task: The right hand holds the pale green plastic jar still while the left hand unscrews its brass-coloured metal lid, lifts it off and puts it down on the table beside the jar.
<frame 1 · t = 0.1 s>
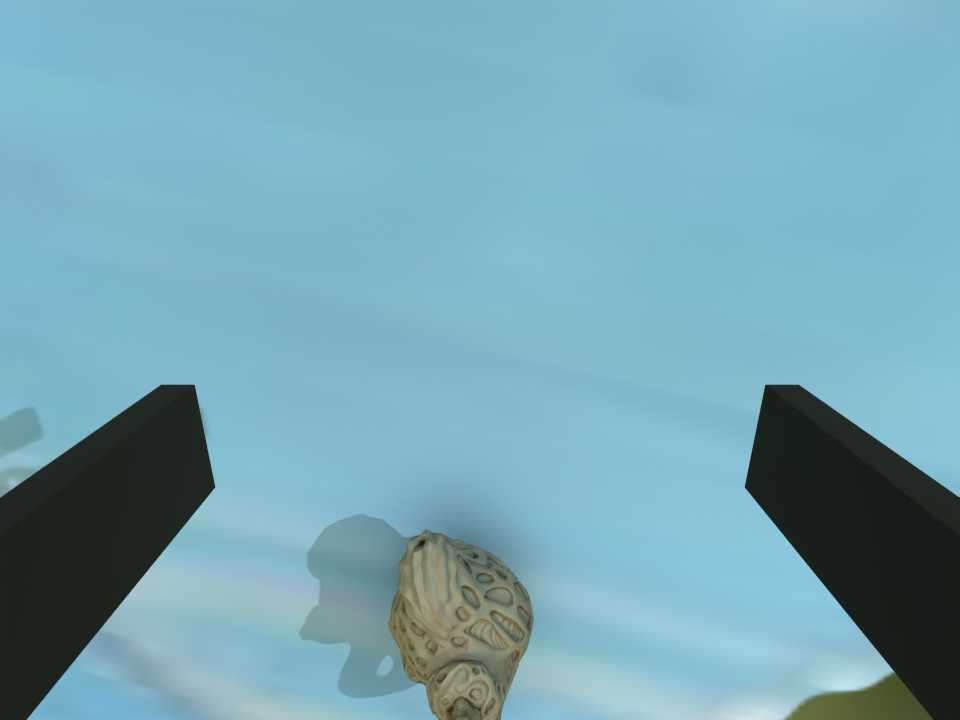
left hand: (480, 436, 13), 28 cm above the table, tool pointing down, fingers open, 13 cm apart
beige patterned figurine: (465, 577, 49), on the table
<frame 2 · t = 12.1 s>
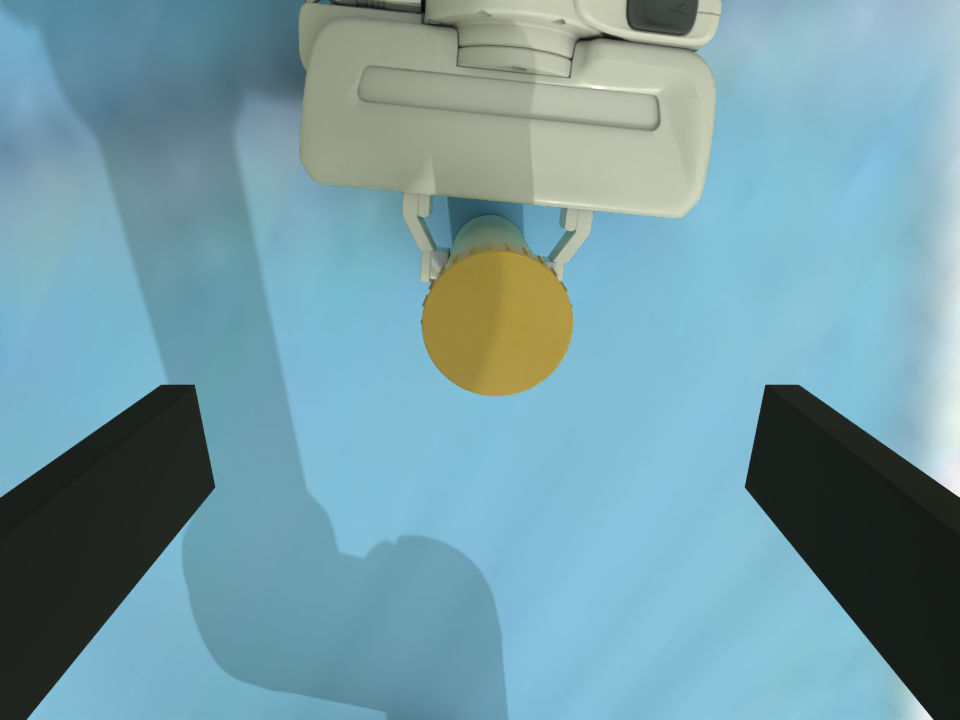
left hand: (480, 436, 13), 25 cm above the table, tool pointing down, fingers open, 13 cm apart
right hand: (490, 286, 30), fingers closed on jar, 5 cm apart
jar: (489, 251, 36), on the table, touching right hand
lid: (497, 324, 20), point 17 cm above the table, screwed on, not yet turned
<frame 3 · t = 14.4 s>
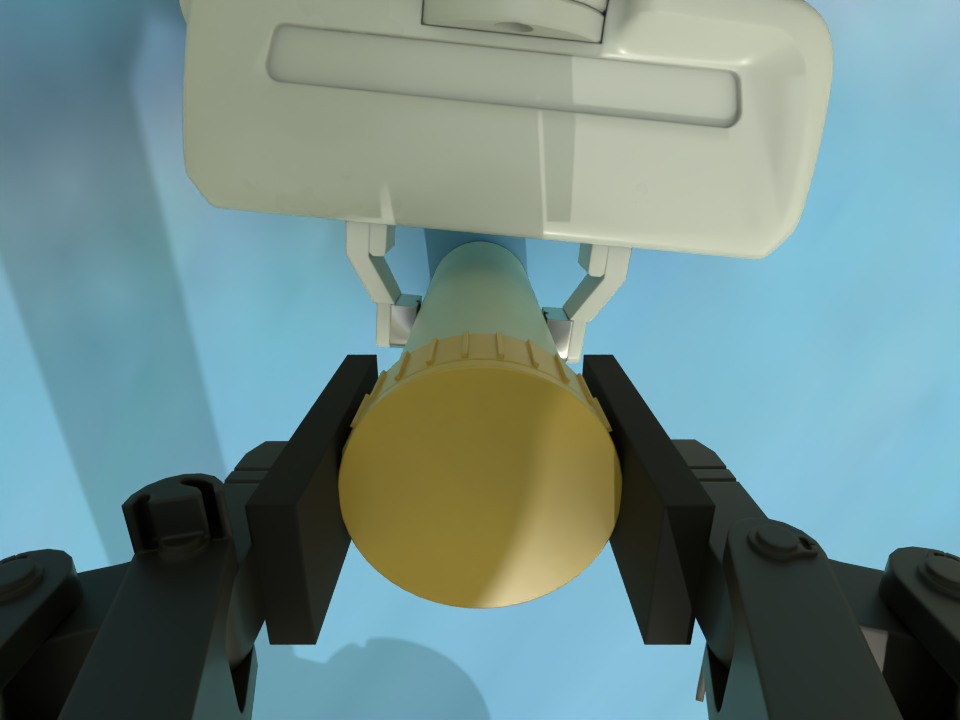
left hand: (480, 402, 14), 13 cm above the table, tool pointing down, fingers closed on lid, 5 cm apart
right hand: (479, 351, 21), fingers closed on jar, 5 cm apart
jar: (480, 290, 27), on the table, touching right hand
lid: (480, 488, 11), point 17 cm above the table, screwed on, not yet turned, touching left hand
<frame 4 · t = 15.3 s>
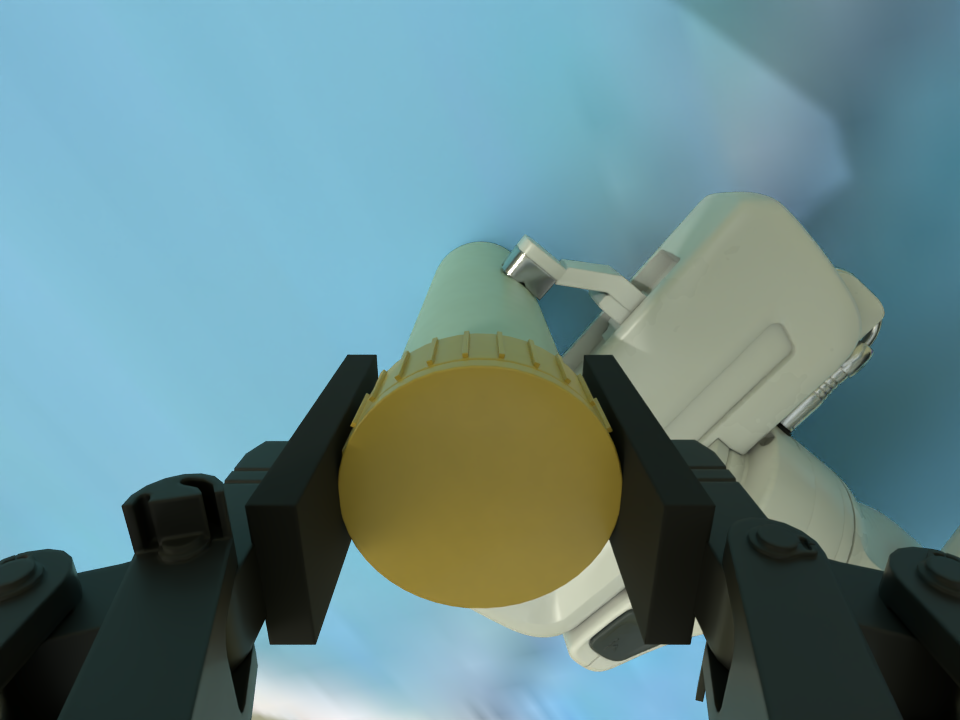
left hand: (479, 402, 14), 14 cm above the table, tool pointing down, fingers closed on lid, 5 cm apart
right hand: (461, 315, 21), fingers closed on jar, 5 cm apart
jar: (480, 289, 27), on the table, touching right hand
lid: (480, 488, 11), point 18 cm above the table, off its thread, touching left hand
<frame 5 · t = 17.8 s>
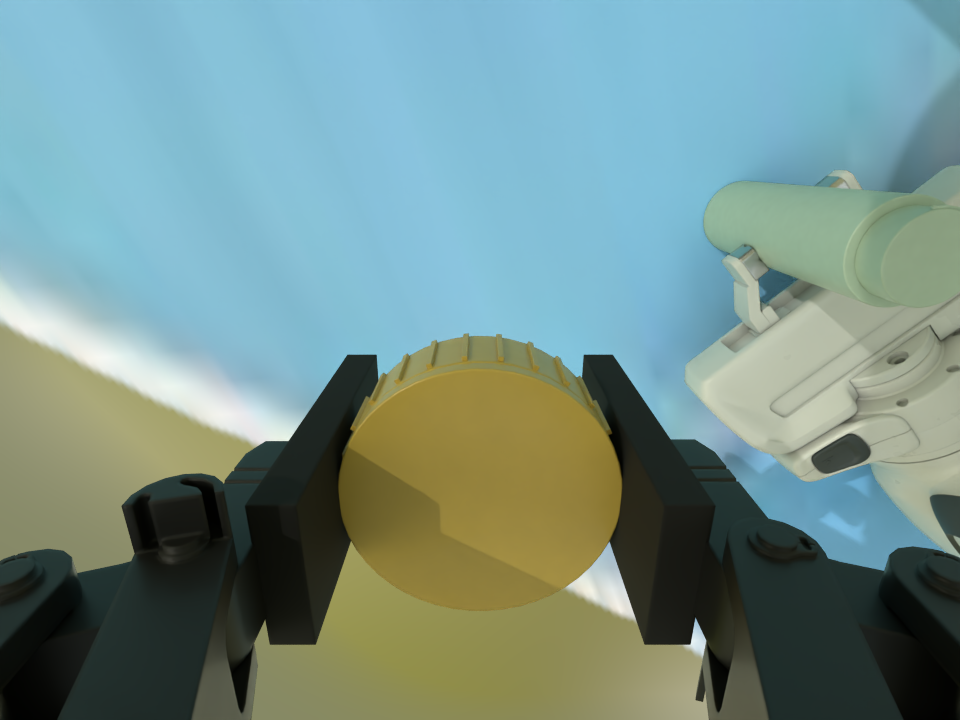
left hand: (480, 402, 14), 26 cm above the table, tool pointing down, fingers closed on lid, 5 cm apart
jar: (738, 217, 37), on the table, touching right hand
lid: (480, 491, 11), point 30 cm above the table, off its thread, touching left hand
when the left hand's fingers open (0 cm above the table, at t = 22.6 s): lid drops 3 cm, point 2 cm above the table.
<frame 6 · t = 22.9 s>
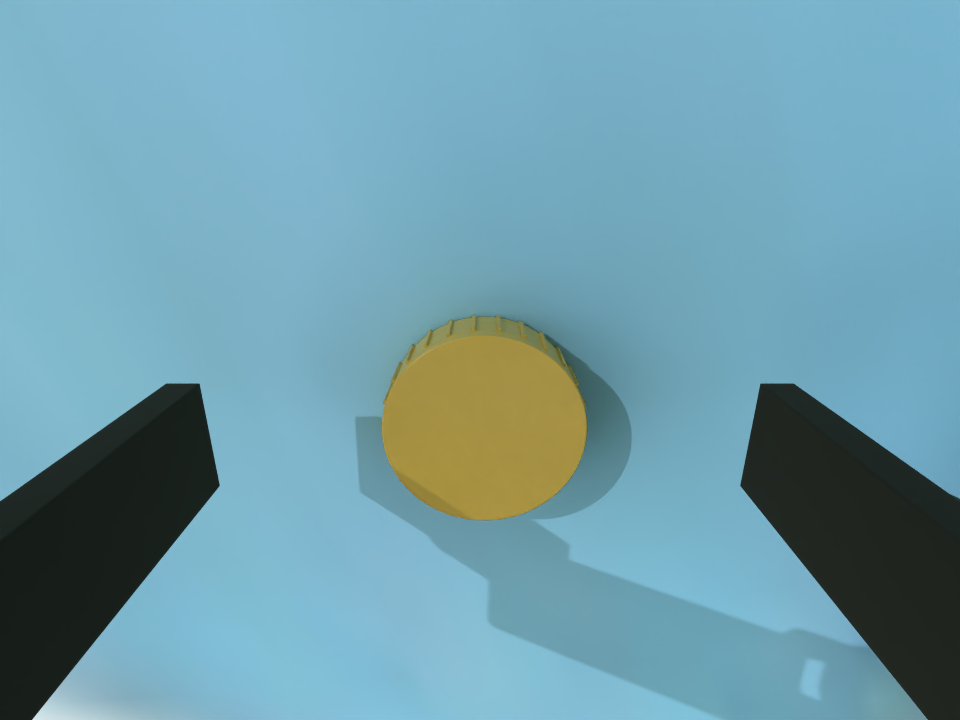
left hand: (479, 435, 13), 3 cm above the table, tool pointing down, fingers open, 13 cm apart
lid: (484, 428, 15), point 2 cm above the table, off its thread
when the right hand's fingers open (7 cm above the table, at t = 23.4 s): jar stays where it is, on the table.
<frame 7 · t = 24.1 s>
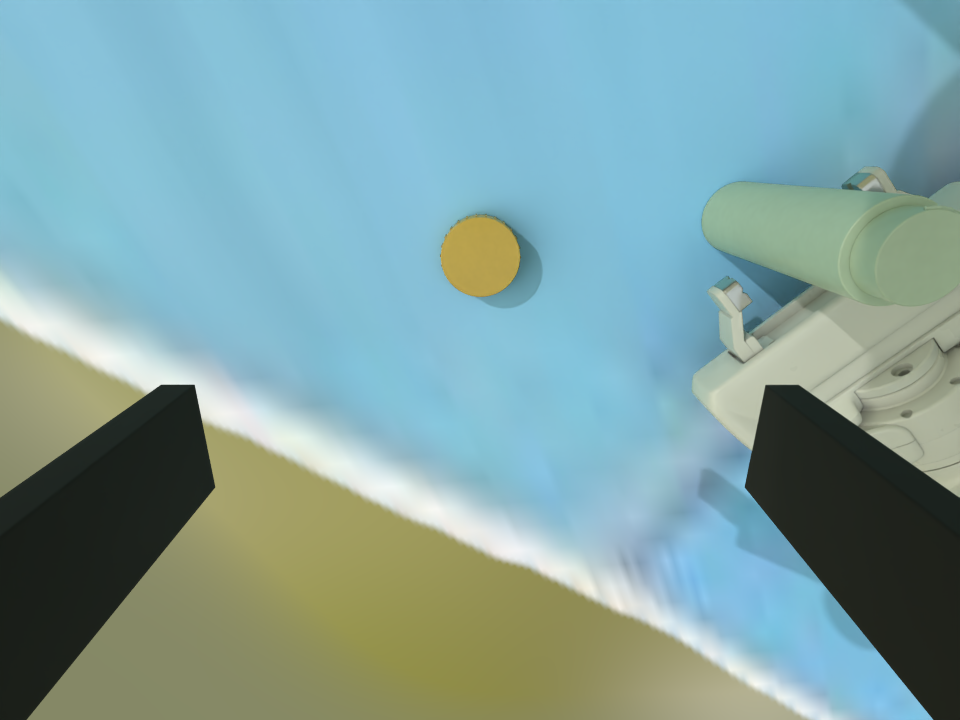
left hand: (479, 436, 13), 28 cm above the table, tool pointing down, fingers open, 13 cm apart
jar: (735, 217, 38), on the table
lid: (480, 257, 37), point 2 cm above the table, off its thread
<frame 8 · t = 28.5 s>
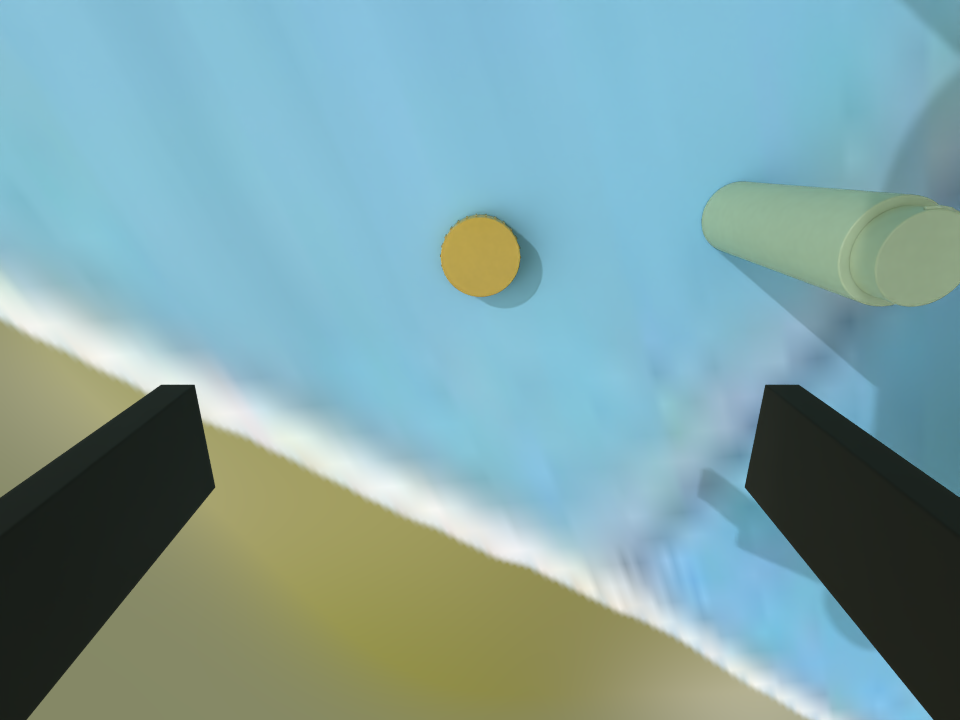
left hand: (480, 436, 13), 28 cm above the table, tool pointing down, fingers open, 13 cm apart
jar: (735, 217, 38), on the table
lid: (480, 257, 37), point 2 cm above the table, off its thread
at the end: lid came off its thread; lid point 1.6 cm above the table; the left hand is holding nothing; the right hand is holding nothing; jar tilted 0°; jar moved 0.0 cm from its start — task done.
